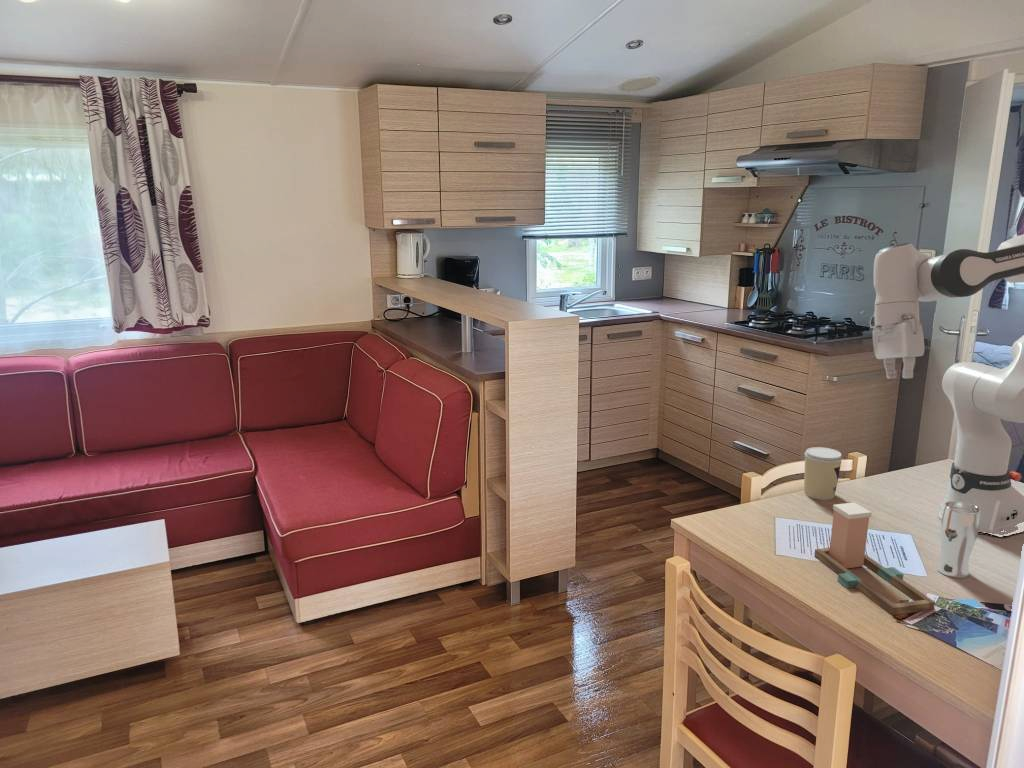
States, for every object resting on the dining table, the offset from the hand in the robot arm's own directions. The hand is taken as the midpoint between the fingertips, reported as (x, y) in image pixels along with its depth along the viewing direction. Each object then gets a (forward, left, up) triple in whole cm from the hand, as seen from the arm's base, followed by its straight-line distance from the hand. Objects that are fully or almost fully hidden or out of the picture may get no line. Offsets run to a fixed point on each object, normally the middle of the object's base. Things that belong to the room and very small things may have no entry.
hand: (899, 378), depth 167 cm
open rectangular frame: (+16, +17, -39) cm, 45 cm away
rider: (+16, +9, -39) cm, 43 cm away
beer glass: (-4, +18, -39) cm, 43 cm away
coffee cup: (-2, -26, -39) cm, 47 cm away
